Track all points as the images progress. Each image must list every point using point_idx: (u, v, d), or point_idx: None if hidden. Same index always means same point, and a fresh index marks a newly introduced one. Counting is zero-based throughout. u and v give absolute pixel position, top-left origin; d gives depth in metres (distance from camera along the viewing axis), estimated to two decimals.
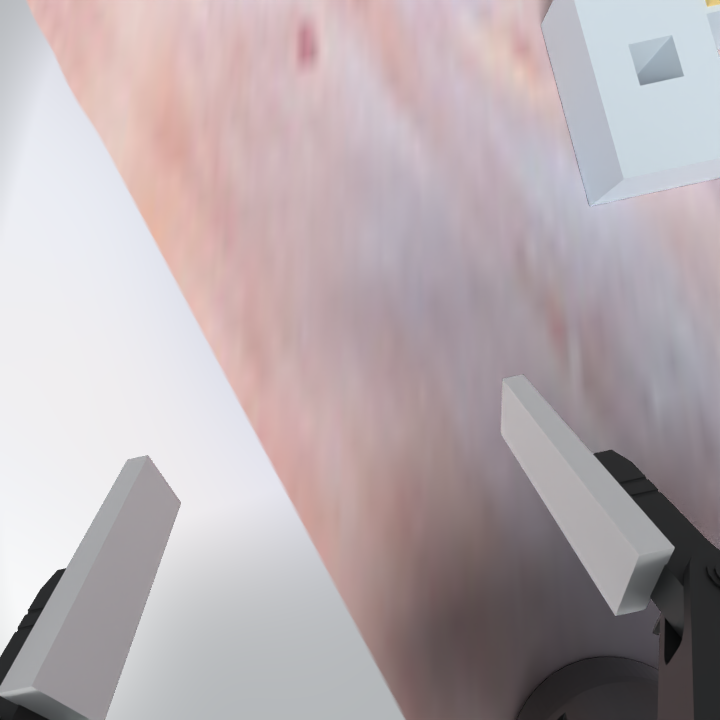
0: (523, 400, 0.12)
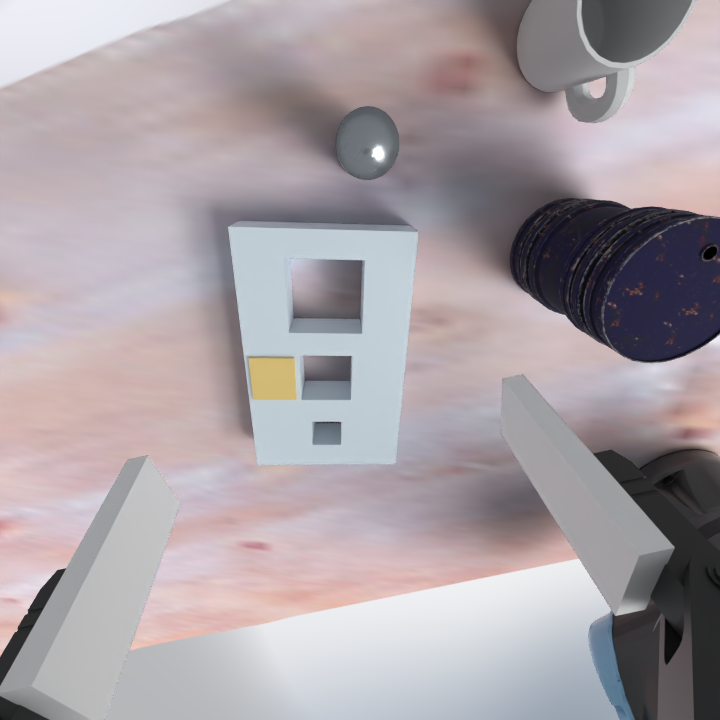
0: (522, 400, 0.12)
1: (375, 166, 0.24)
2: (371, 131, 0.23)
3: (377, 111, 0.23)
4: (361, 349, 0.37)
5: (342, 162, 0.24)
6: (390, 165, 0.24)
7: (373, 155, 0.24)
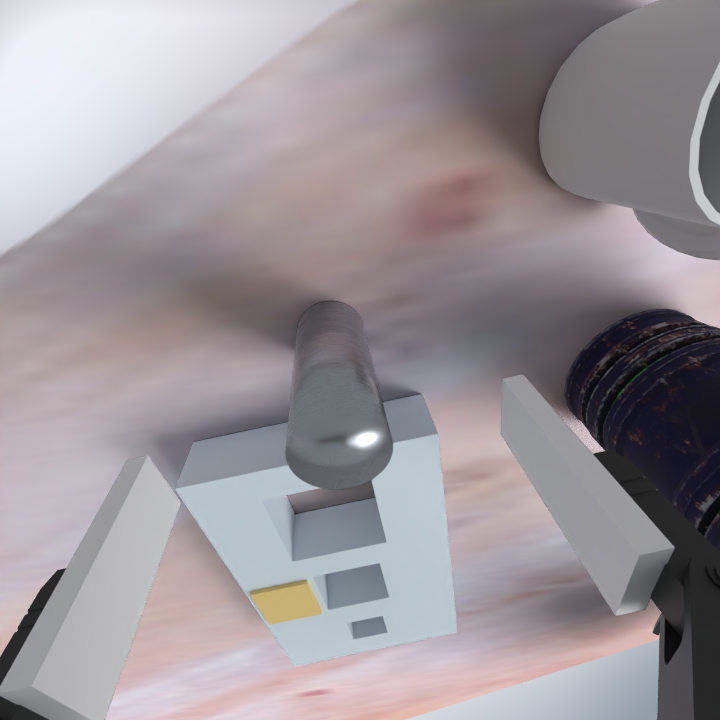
0: (522, 400, 0.12)
1: (361, 471, 0.14)
2: (342, 437, 0.13)
3: (344, 413, 0.13)
4: (389, 555, 0.28)
5: (305, 480, 0.14)
6: (384, 465, 0.14)
7: (353, 461, 0.14)
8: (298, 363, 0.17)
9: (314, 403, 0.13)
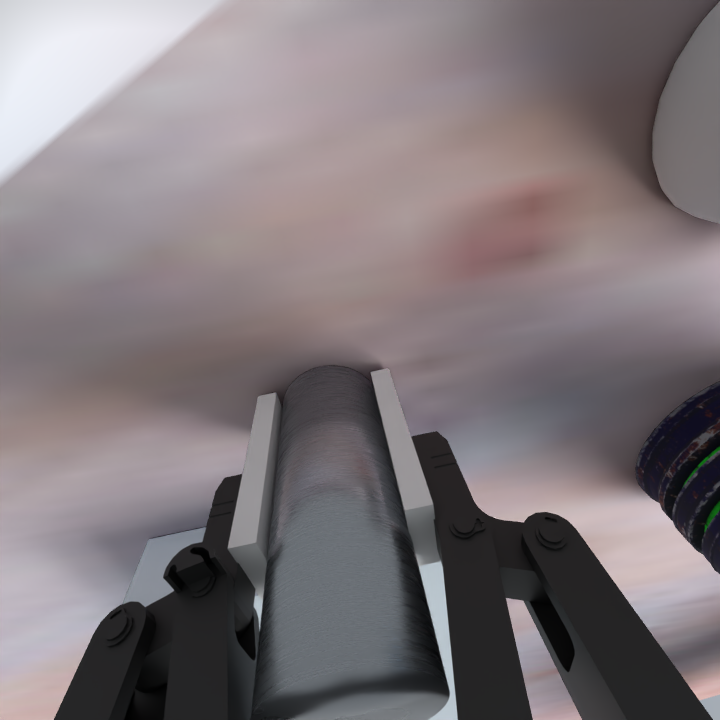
0: (377, 390, 0.14)
1: None
2: (357, 697, 0.07)
3: (363, 673, 0.07)
4: None
5: None
6: (431, 714, 0.08)
7: (377, 717, 0.08)
8: (281, 493, 0.11)
9: (304, 635, 0.07)
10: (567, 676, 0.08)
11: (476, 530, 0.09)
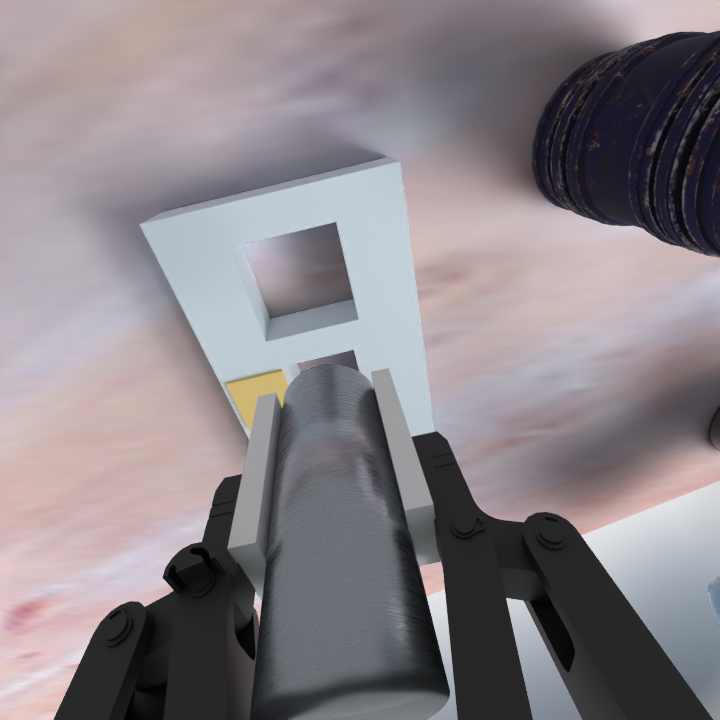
0: (377, 390, 0.14)
1: None
2: (357, 697, 0.07)
3: (362, 671, 0.07)
4: (363, 339, 0.28)
5: None
6: (431, 714, 0.08)
7: (377, 716, 0.08)
8: (280, 491, 0.11)
9: (304, 634, 0.07)
10: (567, 677, 0.08)
11: (476, 530, 0.09)
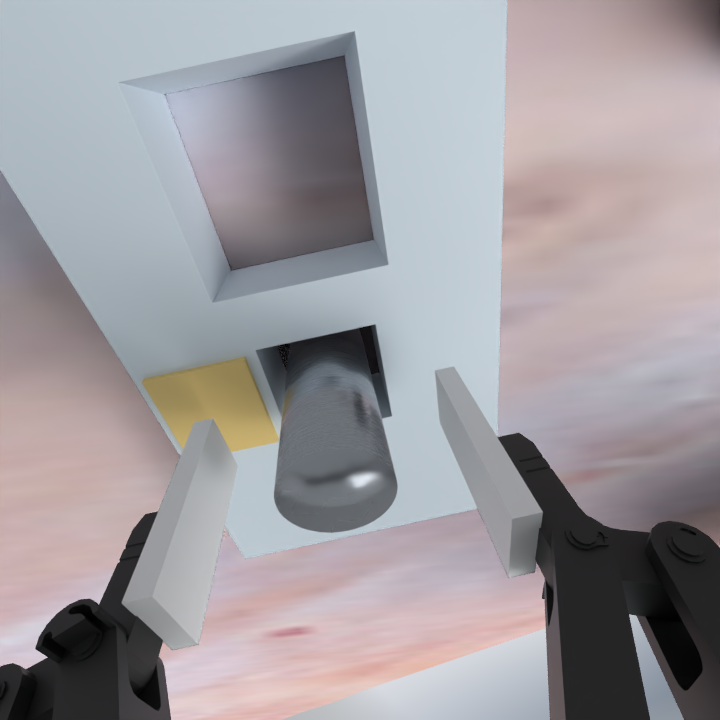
0: (448, 389, 0.13)
1: (361, 513, 0.13)
2: (339, 479, 0.12)
3: (341, 453, 0.11)
4: (394, 304, 0.15)
5: (298, 523, 0.13)
6: (387, 506, 0.13)
7: (352, 503, 0.12)
8: (290, 385, 0.15)
9: (307, 439, 0.12)
10: (681, 695, 0.07)
11: (597, 544, 0.08)
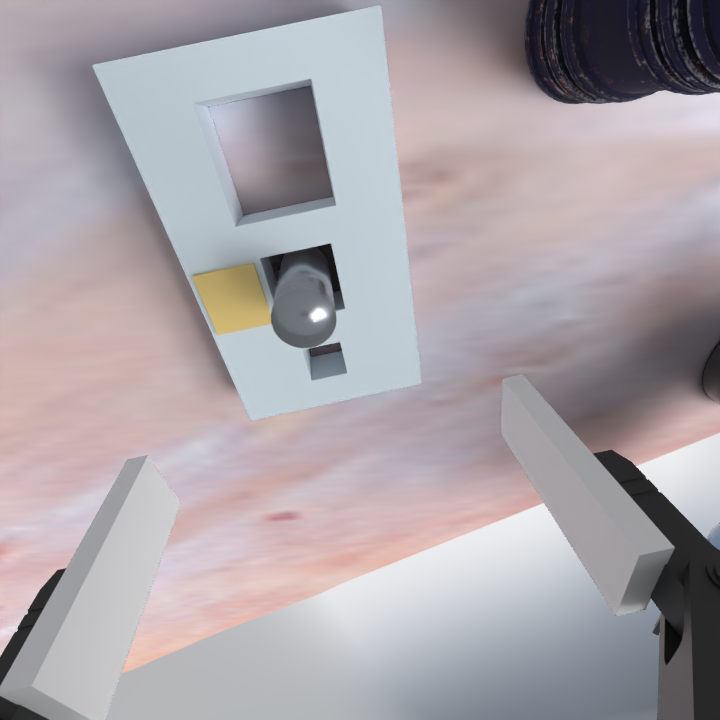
0: (523, 400, 0.12)
1: (317, 335, 0.24)
2: (304, 309, 0.23)
3: (305, 291, 0.22)
4: (341, 230, 0.26)
5: (283, 339, 0.23)
6: (332, 330, 0.24)
7: (312, 326, 0.23)
8: (280, 277, 0.26)
9: (288, 288, 0.22)
10: None
11: None
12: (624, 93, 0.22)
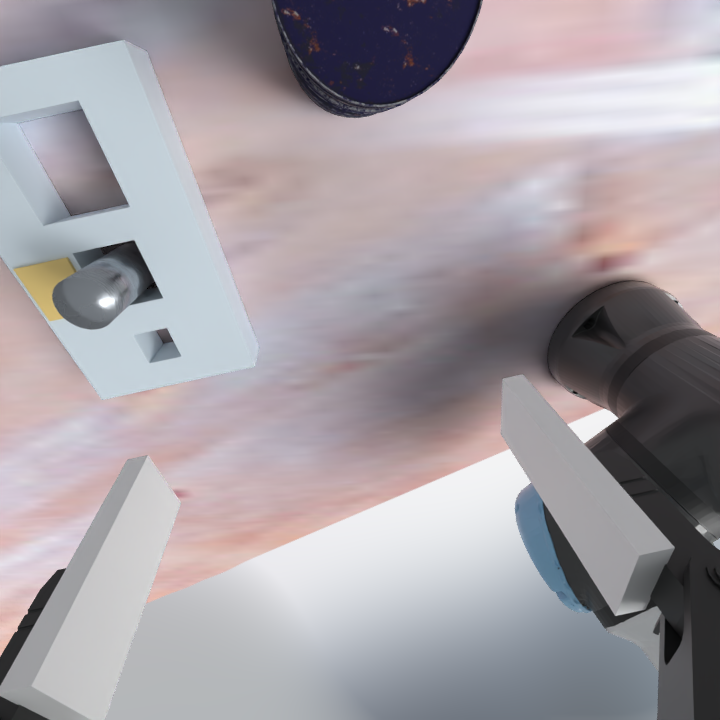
0: (522, 400, 0.12)
1: (101, 317, 0.28)
2: (81, 295, 0.27)
3: (77, 280, 0.26)
4: (140, 228, 0.30)
5: (71, 322, 0.27)
6: (113, 314, 0.27)
7: (94, 310, 0.27)
8: None
9: None
10: None
11: None
12: None
